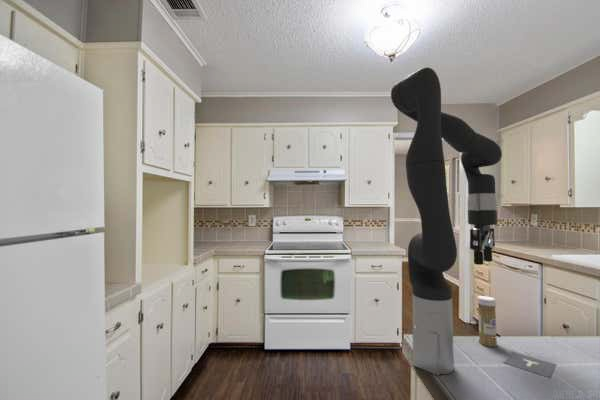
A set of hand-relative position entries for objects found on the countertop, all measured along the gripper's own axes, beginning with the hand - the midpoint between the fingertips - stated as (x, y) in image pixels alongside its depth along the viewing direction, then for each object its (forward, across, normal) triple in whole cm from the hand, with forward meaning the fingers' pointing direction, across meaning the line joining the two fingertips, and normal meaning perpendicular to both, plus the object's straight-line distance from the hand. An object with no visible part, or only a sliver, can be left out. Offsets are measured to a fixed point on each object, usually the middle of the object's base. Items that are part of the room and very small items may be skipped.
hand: (483, 262), depth 85 cm
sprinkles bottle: (+24, 0, 0) cm, 24 cm away
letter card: (+24, +5, +11) cm, 27 cm away
